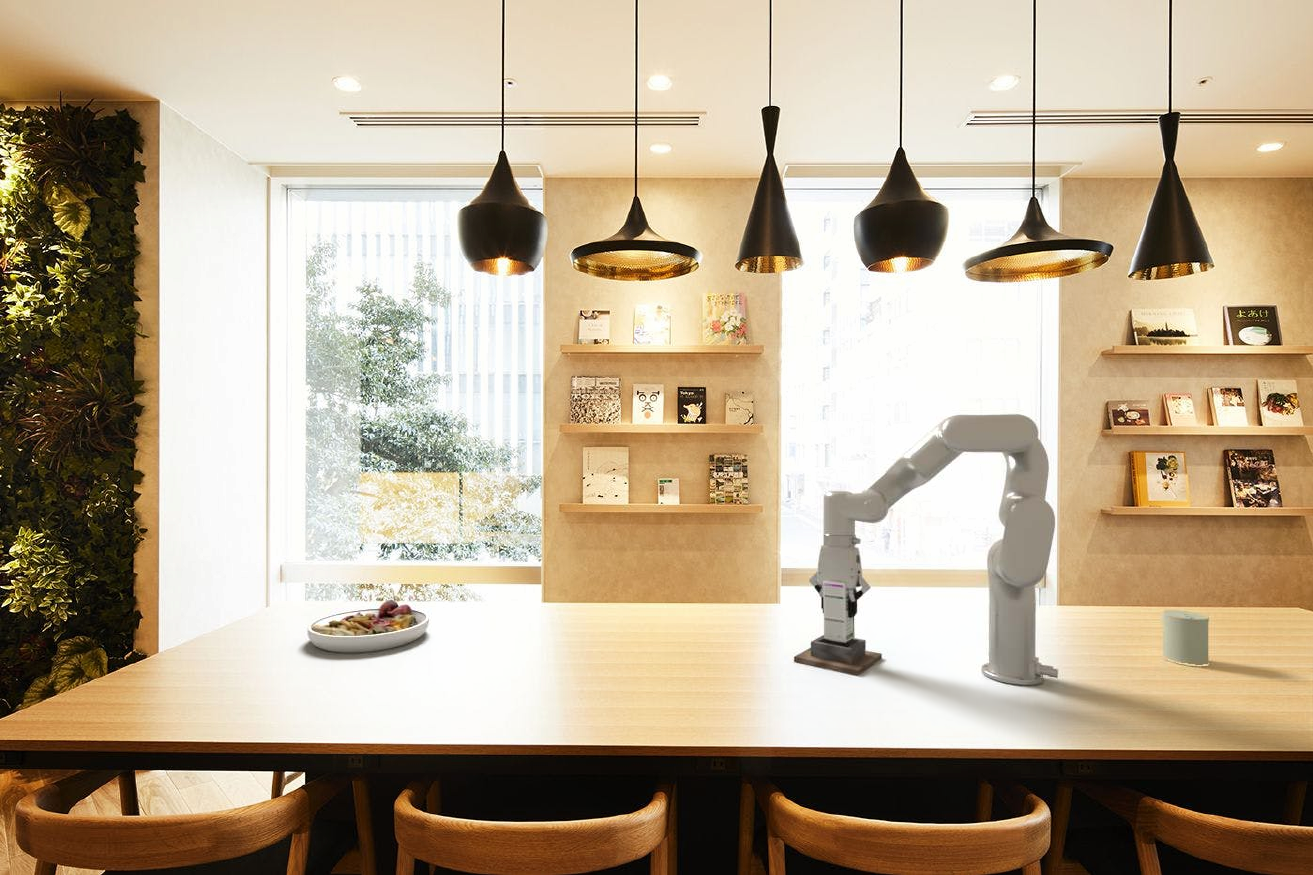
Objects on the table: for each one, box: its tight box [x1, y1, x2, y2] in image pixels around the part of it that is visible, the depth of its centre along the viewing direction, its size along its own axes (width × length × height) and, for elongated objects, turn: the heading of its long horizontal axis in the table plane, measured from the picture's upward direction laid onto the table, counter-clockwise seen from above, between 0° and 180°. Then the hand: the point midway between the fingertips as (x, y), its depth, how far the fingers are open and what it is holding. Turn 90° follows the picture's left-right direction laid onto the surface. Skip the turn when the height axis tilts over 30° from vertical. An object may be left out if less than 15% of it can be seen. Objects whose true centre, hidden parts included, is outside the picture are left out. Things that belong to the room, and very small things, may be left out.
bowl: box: [306, 599, 430, 654], centre depth 181 cm, size 30×30×8 cm
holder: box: [793, 634, 883, 677], centre depth 165 cm, size 16×16×5 cm
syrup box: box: [823, 581, 856, 643], centre depth 165 cm, size 6×6×14 cm
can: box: [1161, 609, 1210, 665], centre depth 167 cm, size 9×9×12 cm
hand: (839, 613), depth 165 cm, fingers closed on syrup box, 5 cm apart
